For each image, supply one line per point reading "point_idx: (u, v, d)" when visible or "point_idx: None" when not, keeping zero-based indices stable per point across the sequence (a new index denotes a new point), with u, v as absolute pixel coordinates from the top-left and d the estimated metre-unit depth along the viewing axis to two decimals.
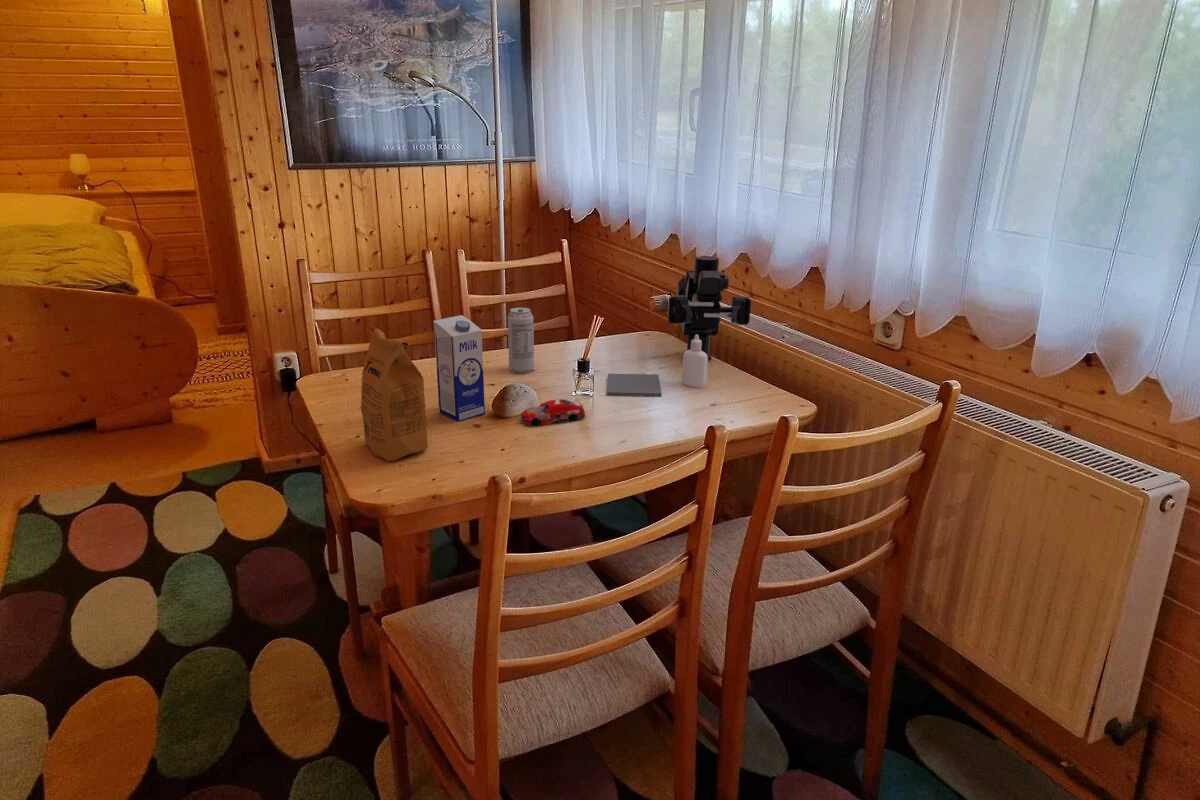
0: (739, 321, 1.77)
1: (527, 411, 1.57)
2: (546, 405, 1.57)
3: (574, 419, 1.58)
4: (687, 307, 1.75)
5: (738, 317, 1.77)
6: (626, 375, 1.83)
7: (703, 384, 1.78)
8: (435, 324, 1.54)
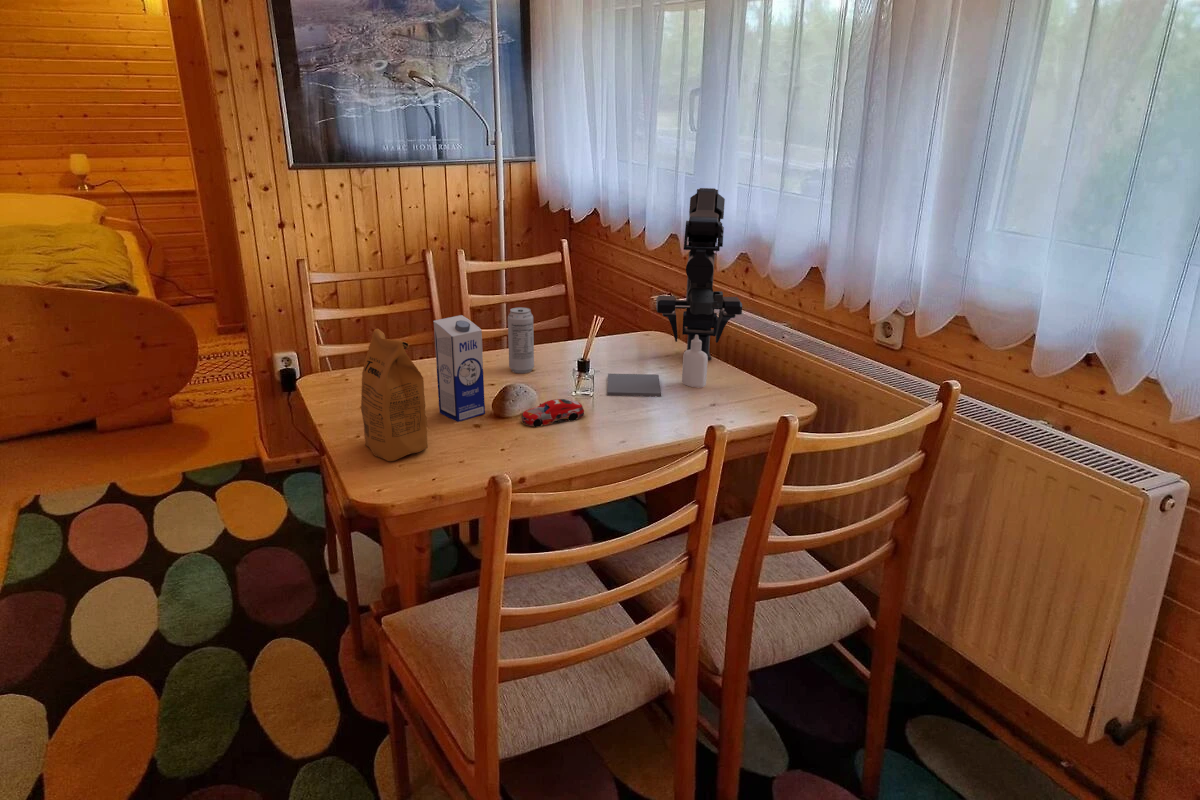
0: None
1: (528, 412, 1.56)
2: (546, 405, 1.57)
3: (574, 418, 1.58)
4: (674, 323, 1.73)
5: None
6: (626, 375, 1.83)
7: (703, 384, 1.78)
8: (435, 324, 1.54)
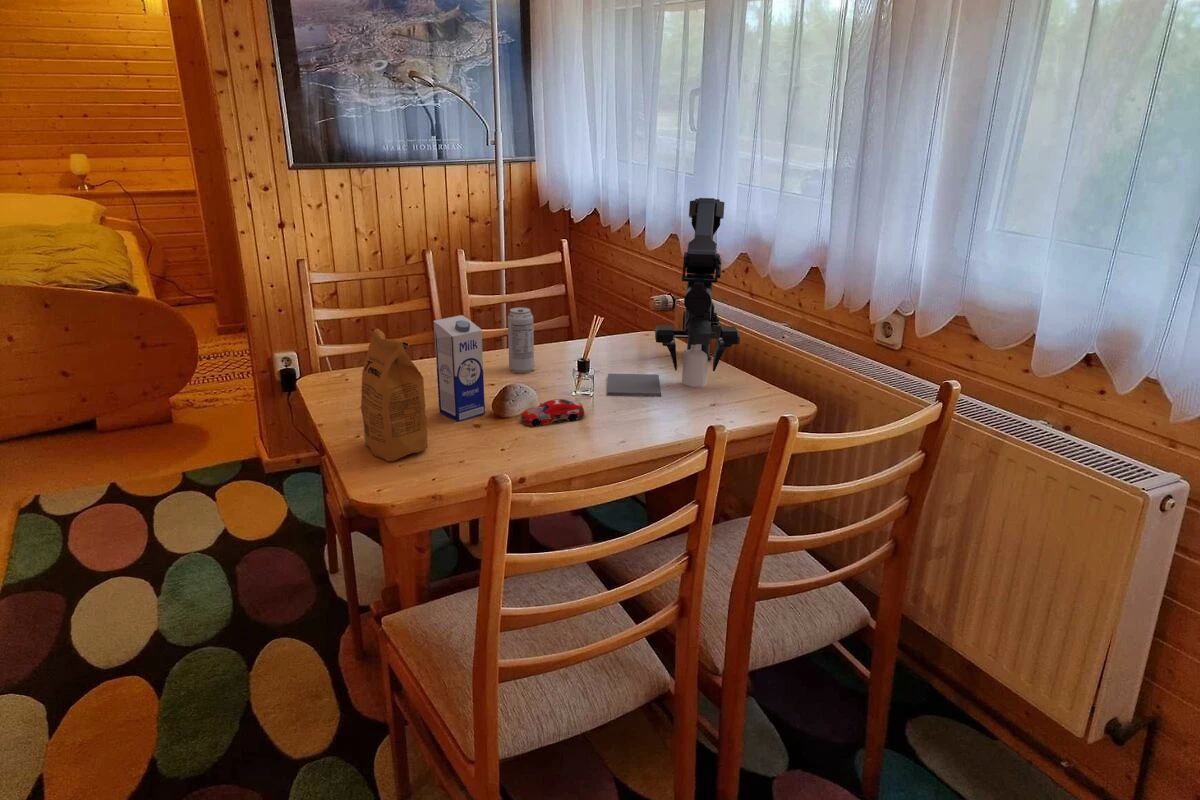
0: None
1: (527, 411, 1.56)
2: (546, 405, 1.57)
3: (574, 419, 1.58)
4: (673, 352, 1.76)
5: None
6: (626, 375, 1.83)
7: (703, 384, 1.78)
8: (435, 324, 1.54)
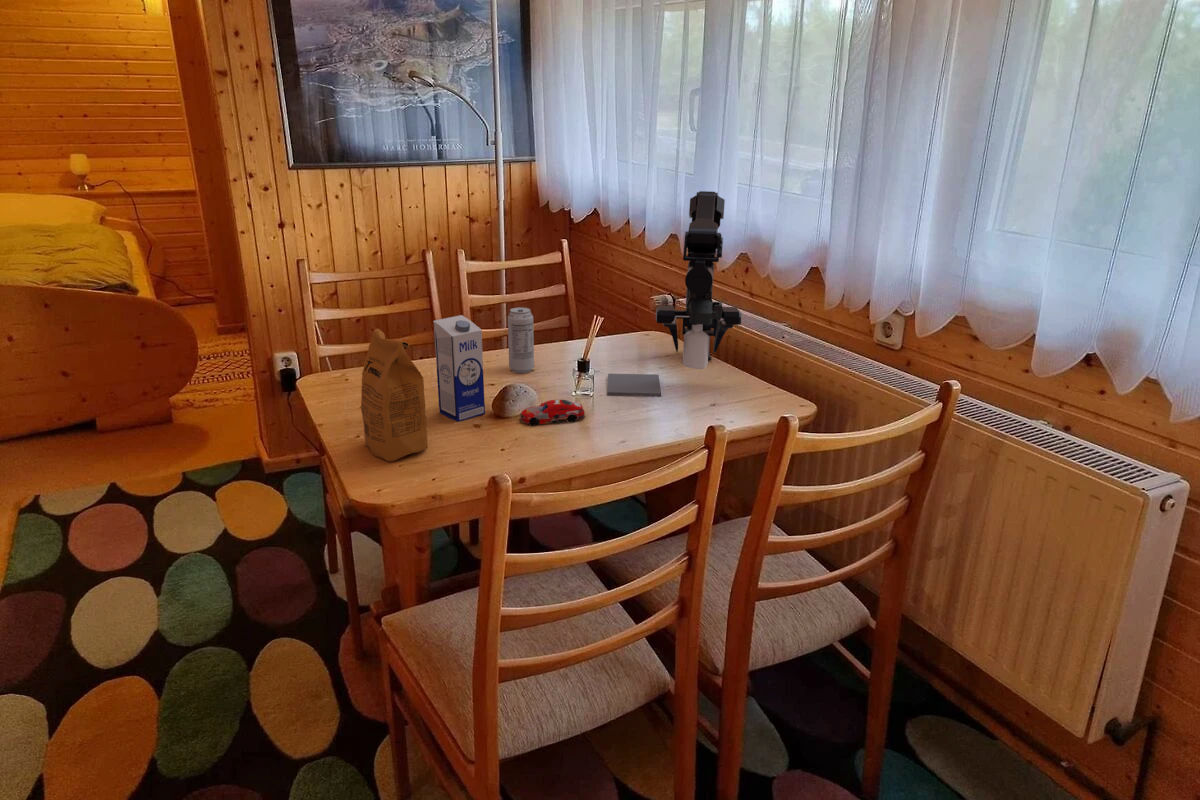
0: None
1: (527, 410, 1.57)
2: (545, 405, 1.57)
3: (573, 420, 1.57)
4: (675, 333, 1.74)
5: None
6: (626, 375, 1.83)
7: (705, 365, 1.76)
8: (435, 324, 1.54)
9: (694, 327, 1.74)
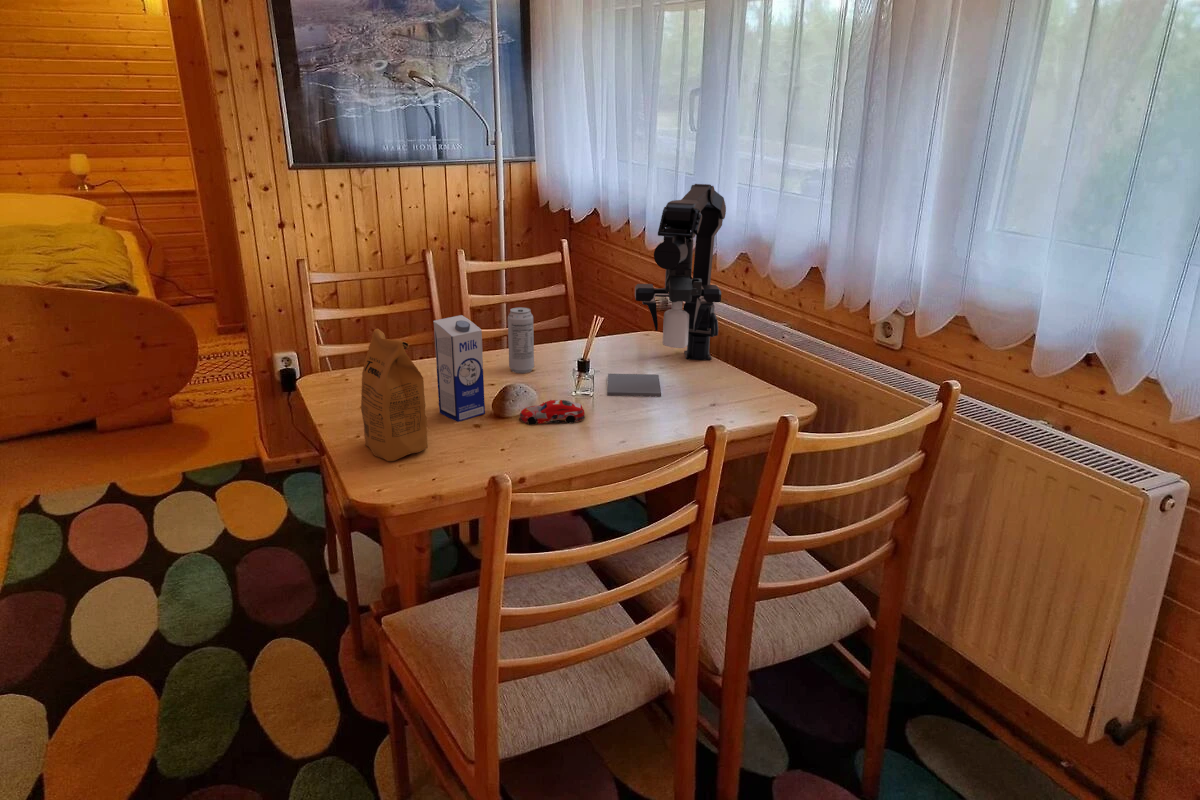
0: None
1: (526, 409, 1.58)
2: (545, 405, 1.57)
3: (572, 421, 1.57)
4: (654, 311, 1.71)
5: None
6: (626, 375, 1.83)
7: (685, 344, 1.74)
8: (435, 324, 1.54)
9: (674, 305, 1.71)
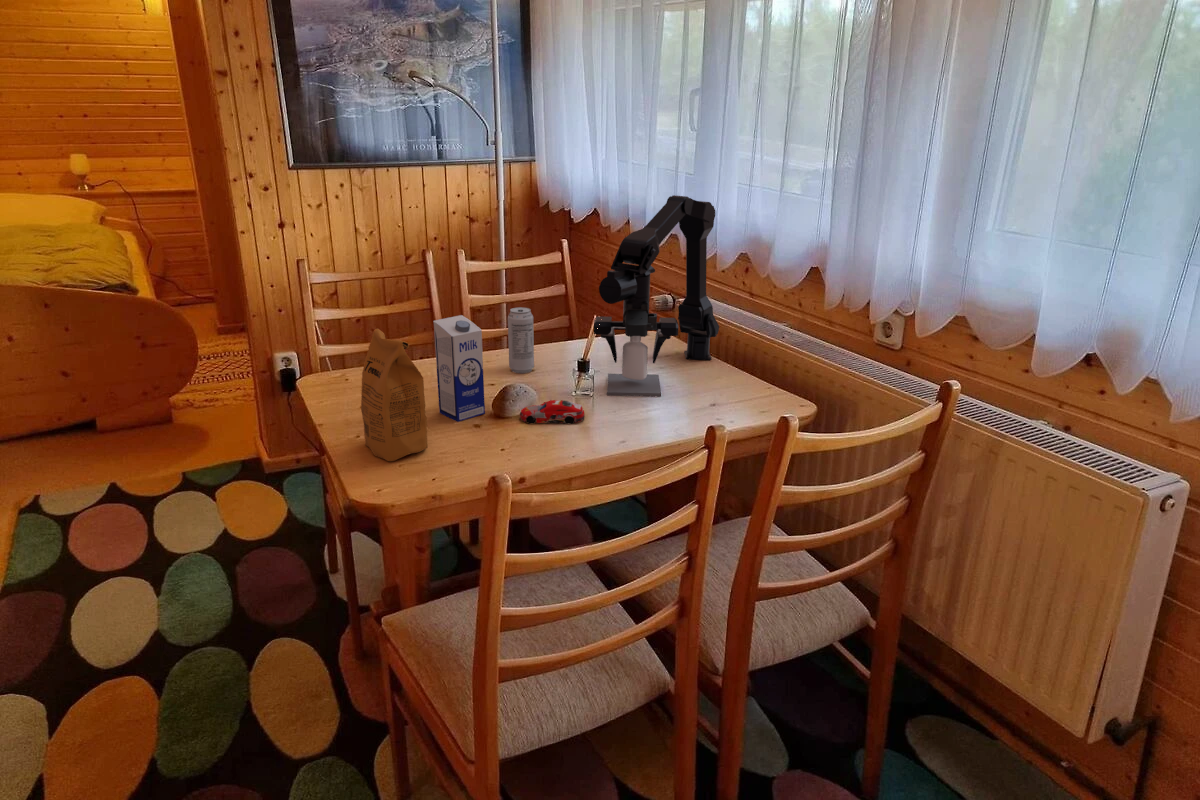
0: None
1: (526, 408, 1.58)
2: (545, 404, 1.57)
3: (571, 421, 1.57)
4: (612, 344, 1.73)
5: None
6: None
7: (644, 376, 1.76)
8: (435, 324, 1.54)
9: (632, 338, 1.73)
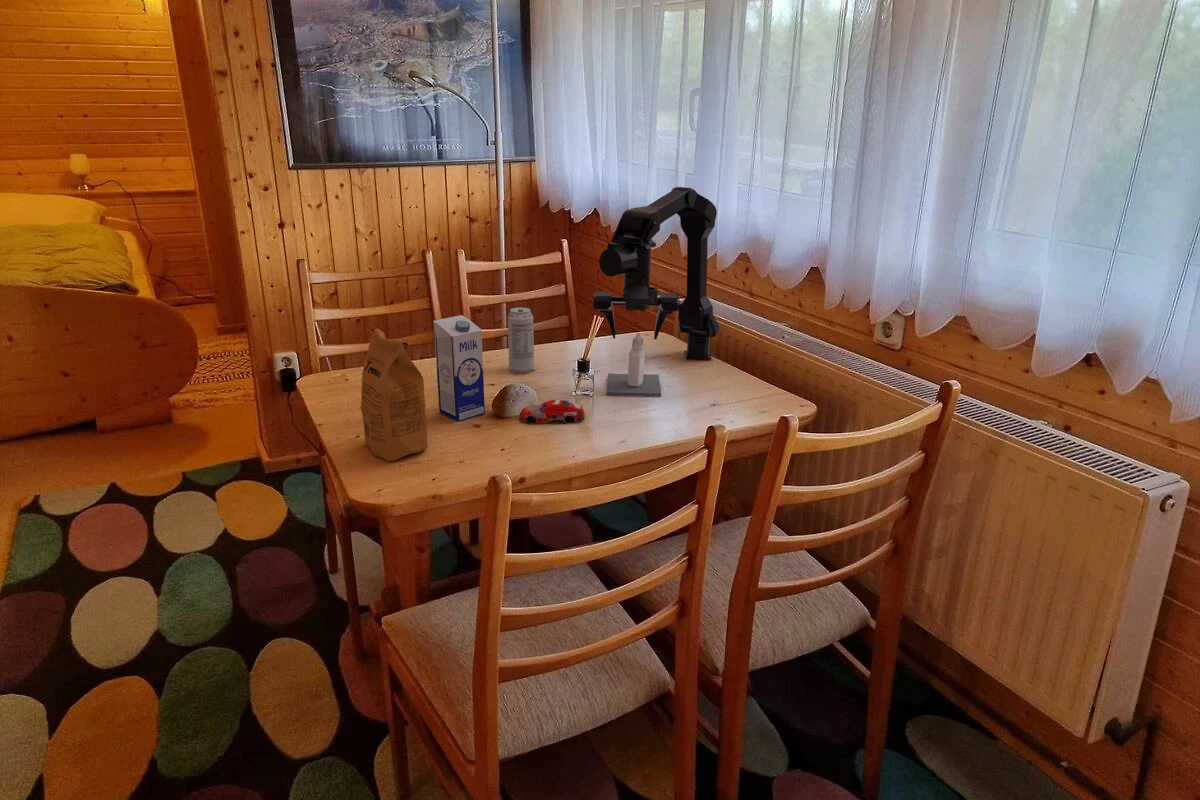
0: None
1: (526, 408, 1.58)
2: (545, 404, 1.57)
3: (571, 421, 1.57)
4: (611, 319, 1.71)
5: None
6: (626, 375, 1.83)
7: (631, 383, 1.75)
8: (435, 324, 1.54)
9: None
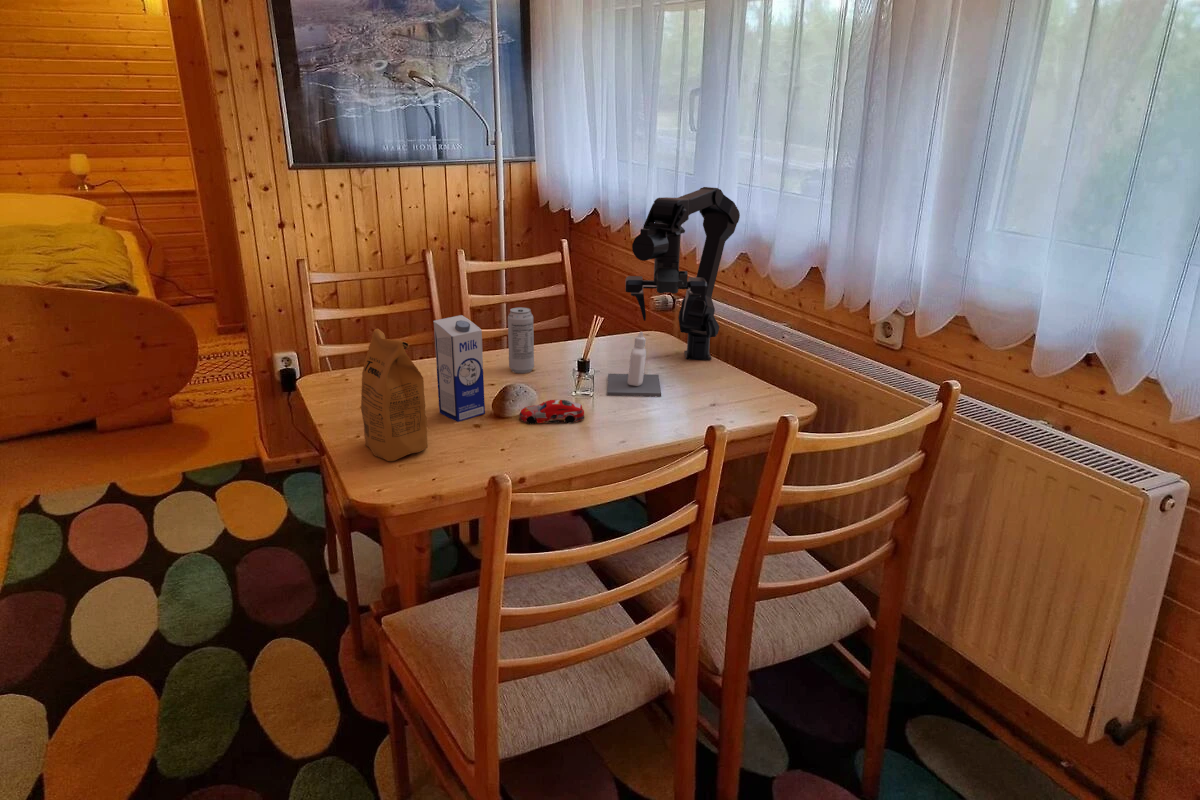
0: None
1: (526, 408, 1.58)
2: (545, 404, 1.57)
3: (571, 421, 1.57)
4: (642, 302, 1.80)
5: None
6: (626, 375, 1.83)
7: (631, 382, 1.75)
8: (435, 324, 1.54)
9: None
